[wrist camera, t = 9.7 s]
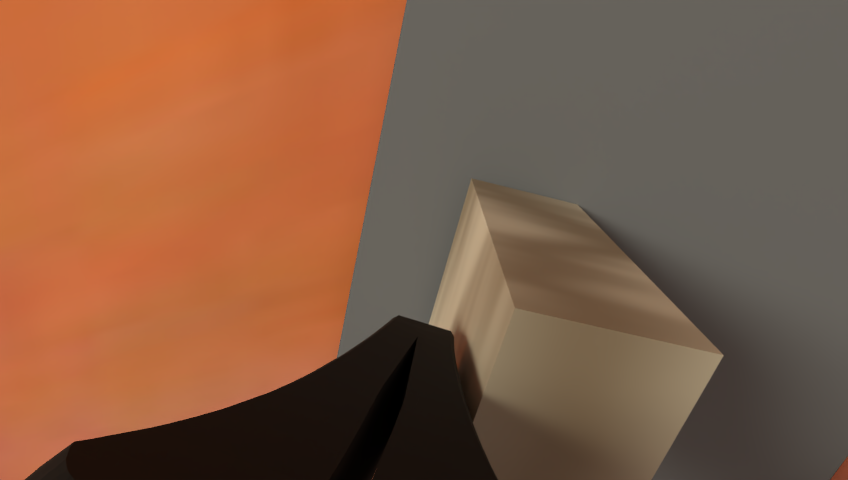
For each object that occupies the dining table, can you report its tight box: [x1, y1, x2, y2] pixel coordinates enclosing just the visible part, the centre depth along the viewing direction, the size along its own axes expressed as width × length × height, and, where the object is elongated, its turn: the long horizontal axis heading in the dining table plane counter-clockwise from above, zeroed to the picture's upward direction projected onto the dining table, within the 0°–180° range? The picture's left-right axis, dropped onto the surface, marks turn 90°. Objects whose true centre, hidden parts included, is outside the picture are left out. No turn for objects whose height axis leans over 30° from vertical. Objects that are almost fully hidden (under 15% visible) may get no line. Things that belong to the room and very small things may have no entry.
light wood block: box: [429, 178, 724, 480], centre depth 12 cm, size 4×6×8 cm, turn 166°
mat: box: [337, 0, 848, 480], centre depth 15 cm, size 18×20×1 cm
